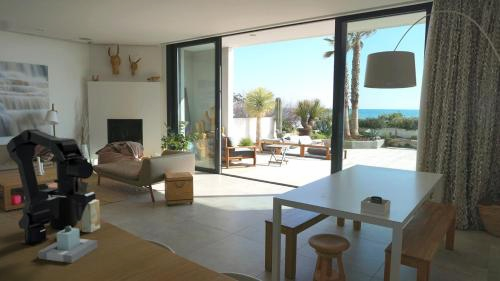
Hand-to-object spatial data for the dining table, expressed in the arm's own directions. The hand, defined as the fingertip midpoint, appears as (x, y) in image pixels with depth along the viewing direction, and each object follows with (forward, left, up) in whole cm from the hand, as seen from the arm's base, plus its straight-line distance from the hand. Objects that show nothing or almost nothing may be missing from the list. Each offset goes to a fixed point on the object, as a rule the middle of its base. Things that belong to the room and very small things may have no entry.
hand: (68, 219), depth 122 cm
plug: (0, 0, -12) cm, 12 cm away
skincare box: (-7, +21, -12) cm, 25 cm away
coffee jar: (-21, +22, -12) cm, 33 cm away
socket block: (0, 0, -12) cm, 12 cm away
